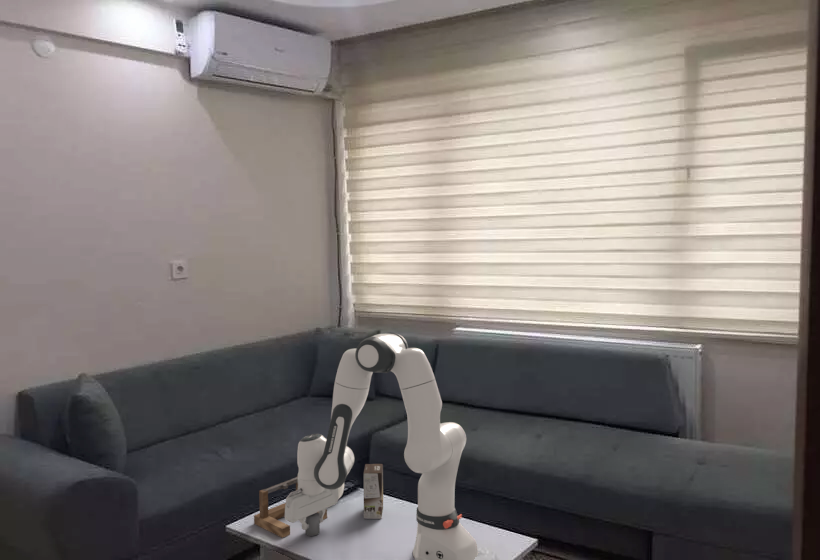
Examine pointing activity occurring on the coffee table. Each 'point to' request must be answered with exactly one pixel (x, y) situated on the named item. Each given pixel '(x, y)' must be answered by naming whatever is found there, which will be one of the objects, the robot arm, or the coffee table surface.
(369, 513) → the coffee box
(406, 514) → the coffee table surface
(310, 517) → the grey cylinder
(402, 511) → the coffee table surface
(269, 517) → the wooden crossbar stand
